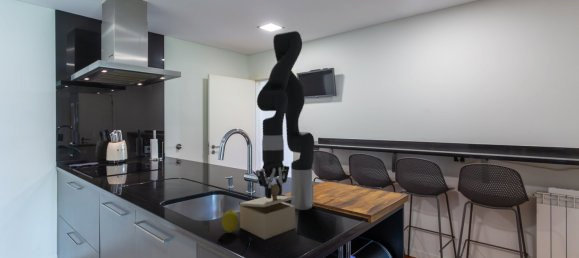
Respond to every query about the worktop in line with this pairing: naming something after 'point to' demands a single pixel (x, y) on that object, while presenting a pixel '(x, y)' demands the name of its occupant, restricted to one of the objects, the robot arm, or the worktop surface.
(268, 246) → the worktop surface
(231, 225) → the lemon
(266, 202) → the lid
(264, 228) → the carton
